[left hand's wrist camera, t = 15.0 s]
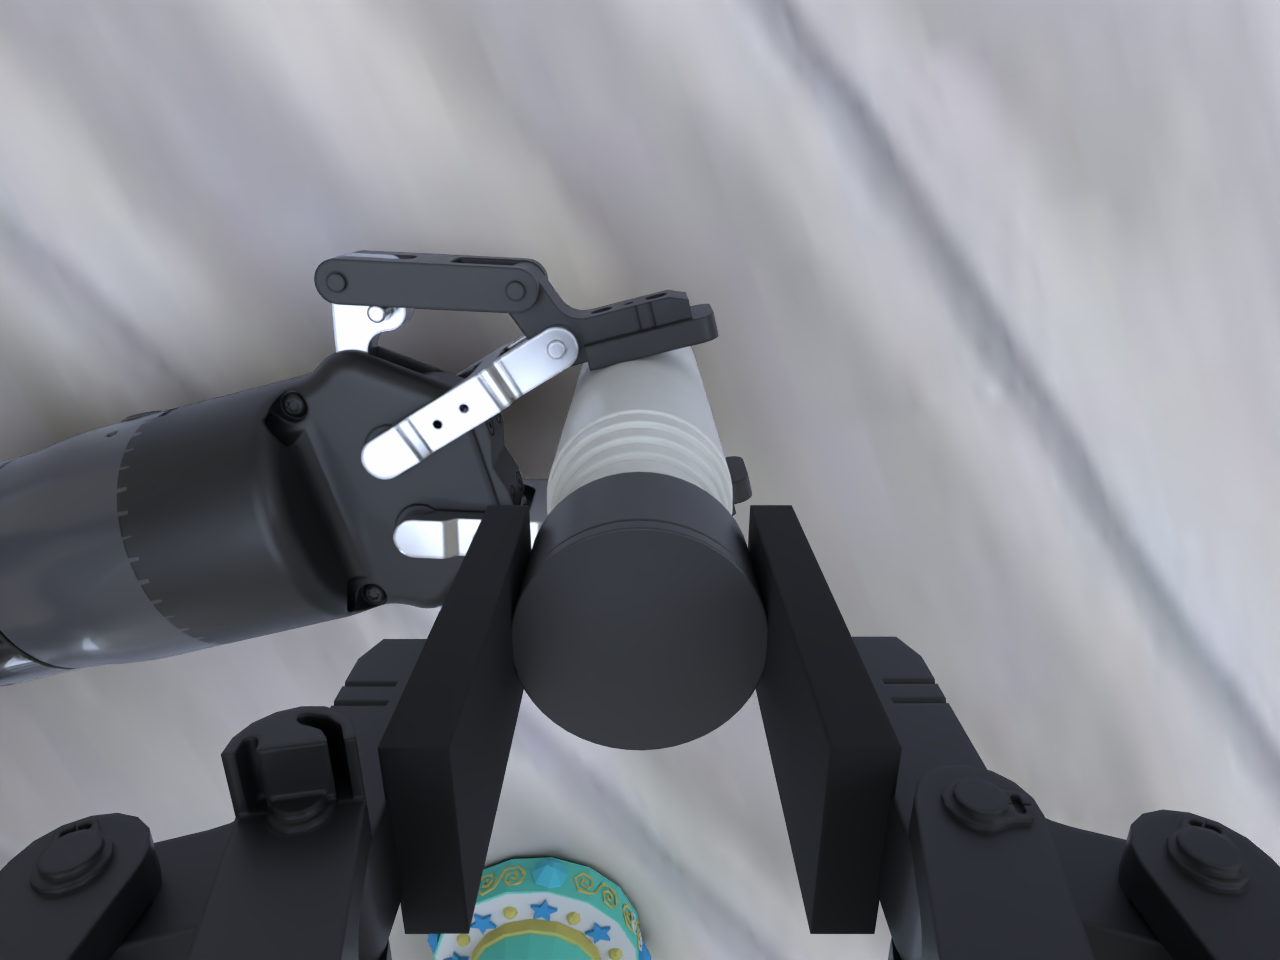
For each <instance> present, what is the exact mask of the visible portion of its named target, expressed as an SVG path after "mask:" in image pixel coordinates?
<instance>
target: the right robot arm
mask: <svg viewBox="0 0 1280 960" xmlns="http://www.w3.org/2000/svg"><path fill="white" fill-rule="evenodd" d="M314 281H315V286H316V288H317V291H318V292H319V294H320V295H321V296H322V297H323V298H324V299H325V300H327V301H328V302H330V303H332V314H333V324H334V335H335V346H336V353H334V354H332V355H330V356H329V357H327V358H326V359H325V360H324V361H323V362H322V363H321V364H320V365H319V366H318V367H317V368H316V369H315V370H314V371H313V372H312V373H309V374H307V375H304V376H300V377H296V378H292V379H288V380H284V381H280V382H276V383H272V384H269V385H265V386H261V387H257V388H253V389H249V390H245V391H241V392H237V393H233V394H230V395H226V396H222V397H218V398H214V399H210V400H206V401H202V402H198V403H195V404H191V405H187V406H183V407H179V408H175V409H171V410H167V411H164V412H163V411H153V412H146V413H141V414H137V415H133V416H130V417H127V418H126V419H125V420H123V421H121V422H120V423H117V424H113V425H109V426H105V427H101V428H98V429H95V430H92V431H88V432H85V433H82V434H79V435H76V436H73V437H71V438H68V439H66V440H63V441H61V442H59V443H56V444H54V445H52V446H50V447H47V448H45V449H43V450H40V451H38V452H35V453H32V454H29V455H26V456H21V457H17V458H13V459H10V460H6V461H2V462H0V687H3V686H7V685H12V684H15V683H20V682H25V681H29V680H33V679H38V678H42V677H47V676H51V675H55V674H60V673H64V672H68V671H73V670H77V669H82V668H86V667H91V666H97V665H105V664H120V663H132V662H141V661H150V660H155V659H161V658H166V657H171V656H175V655H180V654H184V653H188V652H192V651H197V650H201V649H205V648H210V647H214V646H218V645H223V644H228V643H232V642H237V641H241V640H246V639H250V638H254V637H259V636H263V635H268V634H272V633H277V632H281V631H286V630H290V629H294V628H299V627H303V626H308V625H312V624H317V623H321V622H325V621H330V620H334V619H339V618H343V617H348V616H351V615H354V614H358V613H361V612H363V611H366V610H369V609H372V608H374V607H377V606H380V605H384V604H389V603H399V604H407V605H412V606H416V607H420V608H435V607H438V608H439V610H441V607H442V605H443V603H444V601H445V599H446V596H447V594H448V592H449V590H450V588H451V585H452V583H453V581H454V579H455V577H456V574H457V572H458V570H459V568H460V566H461V563H462V561H463V559H464V557H465V555H466V552H467V550H468V548H469V546H470V544H471V542H472V539H473V537H474V535H475V533H476V531H477V528H478V526H479V524H480V522H481V520H482V517H483V515H484V513H485V511H486V509H487V506H488V505H529V512H530V530H531V548H532V547H533V543H534V540H535V537H536V535H537V533H538V531H539V529H540V527H541V525H542V524H543V522H544V520H545V519H546V517H547V516H548V514H547V485H548V480H541V479H522V478H521V475H520V472H519V469H518V466H517V464H516V463H515V461H514V460H513V458H512V457H511V455H510V454H509V452H508V451H507V449H506V448H505V446H504V436H503V420H502V417H501V414H500V412H501V411H503V410H504V409H505V408H507V407H508V406H510V405H511V404H512V403H513V402H514V401H515V400H517V399H518V398H519V397H521V396H522V395H524V394H525V393H527V392H529V391H530V390H532V389H534V388H535V387H537V386H539V385H540V384H542V383H544V382H545V381H547V380H549V379H550V378H552V377H554V376H555V375H557V374H559V373H560V372H562V371H564V370H565V369H567V368H569V367H570V366H574V365H578V364H582V363H586V362H588V365H589V369H590V371H592V370H596V369H600V368H604V367H608V366H612V365H615V364H618V363H623V362H627V361H632V360H636V359H640V358H644V357H648V356H652V355H656V354H660V353H664V352H668V351H672V350H676V349H680V348H684V347H688V346H692V345H696V344H700V343H704V342H708V341H710V340H713V339H715V338H717V337H718V331H717V327H716V322H715V317H714V313H713V310H712V308H711V306H710V305H709V304H700V305H695V306H691V307H690V305H689V300H688V297H687V295H686V292H679V291H672V290H665V291H661V292H657V293H653V294H649V295H645V296H642V297H638V298H635V299H630V300H626V301H622V302H618V303H614V304H610V305H607V306H603V307H599V308H595V309H591V310H577V309H574V308H572V307H570V306H568V305H567V304H566V303H564V302H563V300H562V299H561V298H560V297H559V295H558V294H557V292H556V291H555V289H554V288H553V287H552V285H551V284H550V282H549V281H548V276H547V273H546V270H545V269H544V267H543V266H542V265H541V264H540V263H539V262H537V261H535V260H532V259H525V258H505V257H485V256H465V255H445V254H425V253H405V252H385V251H365V250H364V251H357V252H354V253H349V254H345V255H341V256H338V257H335V258H332V259H328V260H326V261H324V262H322V263H321V264H320V265H319V266H318V268H317V269H316V272H315V277H314ZM414 308H415V309H435V310H456V311H476V312H497V313H509V314H510V316H511V317H512V318H513V320H514V321H515V322H516V324H517V325H518V326H519V328H520V329H521V331H522V332H523V333H524V334H523V335H521V336H520V337H518V338H517V339H515V340H513V341H512V342H510V343H508V344H506V345H503V346H501V347H500V348H498V349H496V350H495V351H493V352H491V353H490V354H488V355H487V356H485V357H483V358H482V359H480V360H478V361H477V362H475V363H474V364H472V365H470V366H469V367H467V368H466V369H464V370H462V371H461V372H459V373H458V374H456V375H454V374H451V373H449V372H446V371H443V370H441V369H438V368H435V367H433V366H430V365H427V364H425V363H422V362H419V361H417V360H414V359H412V358H409V357H406V356H404V355H401V354H398V353H396V352H393V351H390V350H388V349H385V348H383V347H380V346H378V338H379V336H380V334H381V332H383V331H391V330H394V329H396V328H398V327H400V326H401V325H403V324H404V323H406V322H407V321H409V319H410V318H411V317H412V315H413V312H414ZM725 459H726V462H727V466H728V469H729V472H730V476H731V482H732V490H733V500H732V504H733V510H732V516H733V515H735V514H736V511H735V506H734V504H737V503H741V502H744V501H746V500H748V499H749V498H750V497H751V496H752V491H751V487H750V482H749V477H748V473H747V470H746V467H745V464H744V462H743V459H742V458H741V457H736V456H733V457H726V458H725ZM523 498H525V499H523Z"/></svg>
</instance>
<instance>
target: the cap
mask: <svg viewBox="0 0 1280 960" xmlns="http://www.w3.org/2000/svg"><path fill="white" fill-rule="evenodd" d="M767 635H768V619H767V614H766V610H765V607H764V603H763V600H762V596H761V593H760V589H759V586H758V582H757V579H756V575H755V572H754V568H753V565H752V561H751V558H750V554H749V551H748V547H747V544H746V542H745V539H744V536H743V534H742V532H741V530H740V528H739V526H738V524H737V522H736V521H735V519H734V518H733V517H732V515H731V514H730V513H729V511H728V510H727V509H726V508H725V507H724V506H723V505H722V504H721V503H720V502H719V501H718V500H717V499H715V498H714V497H713V496H712V495H710V494H709V493H708V492H706V491H705V490H703V489H701V488H700V487H698V486H696V485H694V484H692V483H690V482H687V481H685V480H683V479H680V478H677V477H673V476H670V475H666V474H660V473H654V472H627V473H619V474H615V475H610V476H606V477H603V478H600V479H597V480H594V481H592V482H590V483H588V484H586V485H584V486H582V487H580V488H578V489H577V490H575V491H574V492H572V493H571V494H569V495H568V496H566V497H565V498H564V499H563V500H562V501H561V502H560V503H558V504H557V505H556V507H555V508H554V509H553V510H552V511H551V512H550V513H549V515H548V516H547V517H546V519H545V520H544V522H543V524H542V525H541V527H540V529H539V531H538V533H537V535H536V537H535V540H534V543H533V547H532V550H531V554H530V557H529V561H528V564H527V568H526V571H525V574H524V578H523V581H522V585H521V588H520V592H519V595H518V599H517V602H516V606H515V609H514V613H513V616H512V642H513V656H514V667H515V670H516V673H517V676H518V678H519V680H520V682H521V684H522V686H523V688H524V690H525V691H526V693H527V694H528V696H529V697H530V698H531V700H532V701H533V702H534V704H535V705H536V706H537V707H538V708H539V709H540V710H541V711H542V712H543V713H544V714H545V715H546V716H547V717H548V718H550V719H551V720H552V721H553V722H554V723H556V724H557V725H559V726H560V727H562V728H563V729H565V730H566V731H568V732H570V733H572V734H574V735H576V736H578V737H580V738H582V739H585V740H587V741H590V742H593V743H595V744H599V745H603V746H607V747H612V748H619V749H626V750H652V749H662V748H667V747H673V746H677V745H680V744H683V743H687V742H690V741H692V740H695V739H697V738H700V737H702V736H704V735H706V734H708V733H710V732H711V731H713V730H715V729H717V728H718V727H720V726H721V725H722V724H724V723H725V722H726V721H728V720H729V719H730V718H731V717H732V716H734V715H735V714H736V713H737V712H738V711H739V710H740V709H741V708H742V707H743V705H744V704H745V703H746V702H747V701H748V699H749V698H750V697H751V695H752V693H753V692H754V690H755V689H756V687H757V685H758V683H759V681H760V679H761V677H762V674H763V672H764V669H765V663H766V650H767Z"/></svg>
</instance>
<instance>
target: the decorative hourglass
mask: <svg viewBox="0 0 1280 960" xmlns="http://www.w3.org/2000/svg"><path fill="white" fill-rule="evenodd" d="M428 943H429V945H430V947H431V949H432V951H433V954H434V960H651V956H650V954H649V951H648V949H647V947H646V945H645V943H644V941H643V939H642V937H641V931H640V929H639V922H638V916H637V912H636V911H635V909H634V908H633V906H632V905H631V903H630V902H629V900H628V899H627V897H626V895H625V894H624V892H623V891H622V889H621V888H620V887H619V886H617V885H616V884H614V883H613V882H611V881H610V880H608V879H607V878H605V877H604V876H602V875H601V874H599V873H598V872H596V871H595V870H593V869H592V868H590V867H587V866H583V865H579V864H575V863H571V862H568V861H564V860H560V859H556V858H552V857H548V858H526V859H511V860H508V861H505V862H503V863H500V864H497V865H495V866H492V867H489V868H487V869H484V870H483V873H482V878H481V882H480V887H479V891H478V896H477V900H476V904H475V909H474V913H473V918H472V922H471V927H470V931H469V934H429V936H428Z"/></svg>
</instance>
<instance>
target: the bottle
mask: <svg viewBox="0 0 1280 960" xmlns="http://www.w3.org/2000/svg"><path fill="white" fill-rule="evenodd" d="M627 472H654V473H660V474H666V475H670V476H673V477H677V478H680V479H683V480H685V481H687V482H690V483H692V484H694V485H696V486H698V487H700V488H701V489H703V490H705V491H706V492H708V493H709V494H710V495H712V496H713V497H714V498H715V499H717V500H718V501H719V502H720V503H721V504H722V505H723V506H724V507H725V508H726V509H727V510H728V511H729V513H730V514H731V515H732V510H733V504H732V500H733V490H732V482H731V476H730V472H729V469H728V466H727V462H726V459H725V456H724V452H723V449H722V446H721V442H720V439H719V436H718V432H717V429H716V426H715V422H714V419H713V416H712V412H711V409H710V406H709V402H708V399H707V396H706V392H705V389H704V386H703V382H702V379H701V376H700V372H699V369H698V366H697V362H696V359H695V356H694V353H693V351H692V349H691V346H688V347H684V348H680V349H676V350H672V351H668V352H664V353H660V354H656V355H652V356H648V357H644V358H640V359H636V360H632V361H627V362H623V363H618V364H615V365H612V366H608V367H604V368H600V369H596V370H592V371H590V369H589V365H588V362H586V363H583V364H582V368H581V371H580V374H579V378H578V381H577V384H576V388H575V391H574V394H573V398H572V401H571V404H570V408H569V411H568V414H567V418H566V421H565V424H564V428H563V431H562V435H561V438H560V441H559V445H558V448H557V451H556V455H555V458H554V461H553V465H552V468H551V471H550V475H549V478H548V485H547V514H548V515H549V513H550V512H551V511H552V510H553V509H554V508H555V507H556V505H557V504H558V503H560V502H561V501H562V500H563V499H564V498H565V497H566V496H568V495H569V494H571V493H572V492H574V491H575V490H577V489H578V488H580V487H582V486H584V485H586V484H588V483H590V482H592V481H594V480H597V479H600V478H603V477H606V476H610V475H615V474H619V473H627Z"/></svg>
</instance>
